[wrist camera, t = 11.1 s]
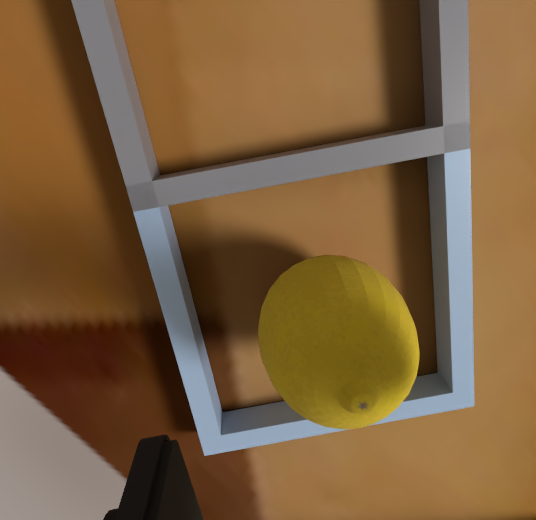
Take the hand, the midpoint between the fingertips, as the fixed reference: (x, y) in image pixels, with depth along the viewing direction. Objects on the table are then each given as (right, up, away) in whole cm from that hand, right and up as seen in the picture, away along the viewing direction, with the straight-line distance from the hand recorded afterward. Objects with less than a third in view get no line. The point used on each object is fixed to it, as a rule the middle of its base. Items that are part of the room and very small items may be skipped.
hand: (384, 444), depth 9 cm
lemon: (-1, +3, +10) cm, 10 cm away
